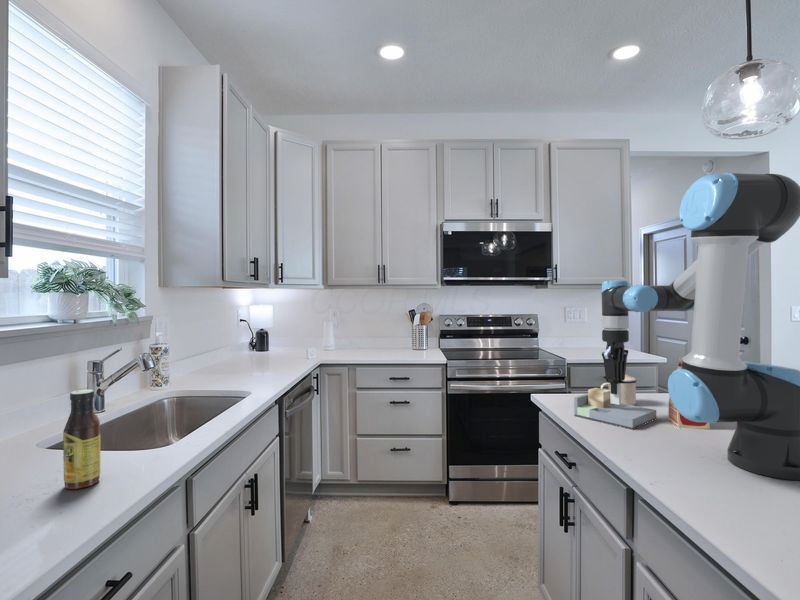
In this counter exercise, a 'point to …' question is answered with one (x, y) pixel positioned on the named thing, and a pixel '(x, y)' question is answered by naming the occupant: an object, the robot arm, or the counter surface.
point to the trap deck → (613, 413)
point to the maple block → (599, 397)
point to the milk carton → (680, 419)
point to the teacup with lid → (627, 390)
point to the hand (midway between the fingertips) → (615, 403)
